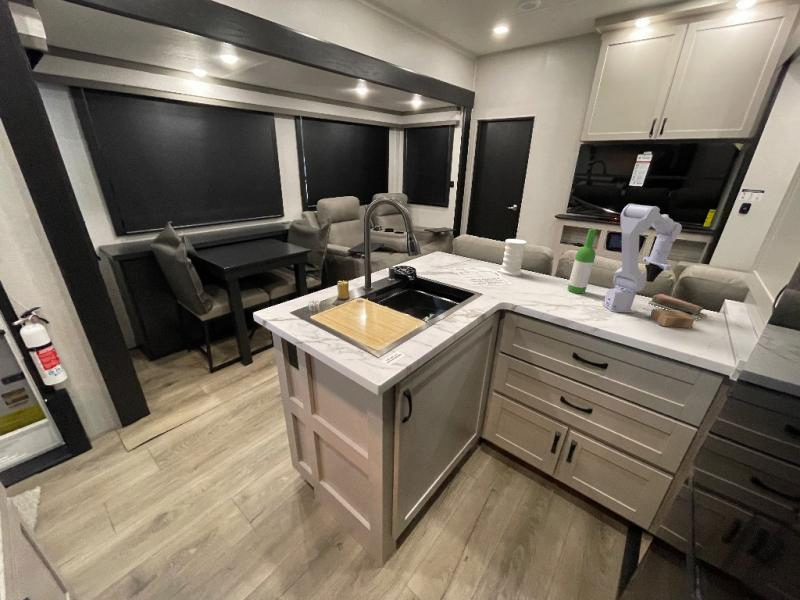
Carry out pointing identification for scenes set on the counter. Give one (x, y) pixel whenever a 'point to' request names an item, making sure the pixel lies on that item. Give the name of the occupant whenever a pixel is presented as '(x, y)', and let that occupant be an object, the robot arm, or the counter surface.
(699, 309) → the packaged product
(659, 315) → the brown box
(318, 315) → the counter surface
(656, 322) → the rubber mat
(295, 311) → the counter surface
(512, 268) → the decorative container
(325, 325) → the counter surface
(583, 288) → the wine bottle
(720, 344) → the counter surface
